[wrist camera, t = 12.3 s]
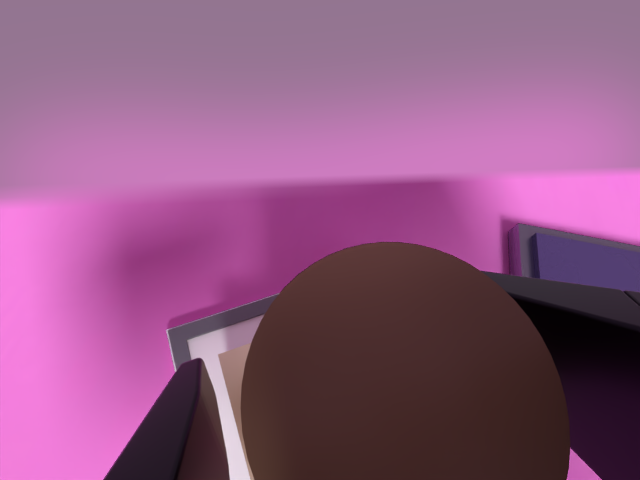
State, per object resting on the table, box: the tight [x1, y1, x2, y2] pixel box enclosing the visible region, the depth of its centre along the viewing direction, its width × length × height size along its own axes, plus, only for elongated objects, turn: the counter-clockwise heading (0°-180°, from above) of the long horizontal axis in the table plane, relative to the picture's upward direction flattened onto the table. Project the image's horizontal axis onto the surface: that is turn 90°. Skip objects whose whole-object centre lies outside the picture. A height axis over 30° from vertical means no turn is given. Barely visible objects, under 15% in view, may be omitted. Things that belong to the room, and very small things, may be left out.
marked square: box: [166, 293, 280, 480], centre depth 16 cm, size 10×10×1 cm
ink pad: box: [508, 223, 640, 292], centre depth 18 cm, size 8×8×1 cm
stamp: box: [218, 242, 570, 480], centre depth 10 cm, size 6×6×11 cm
